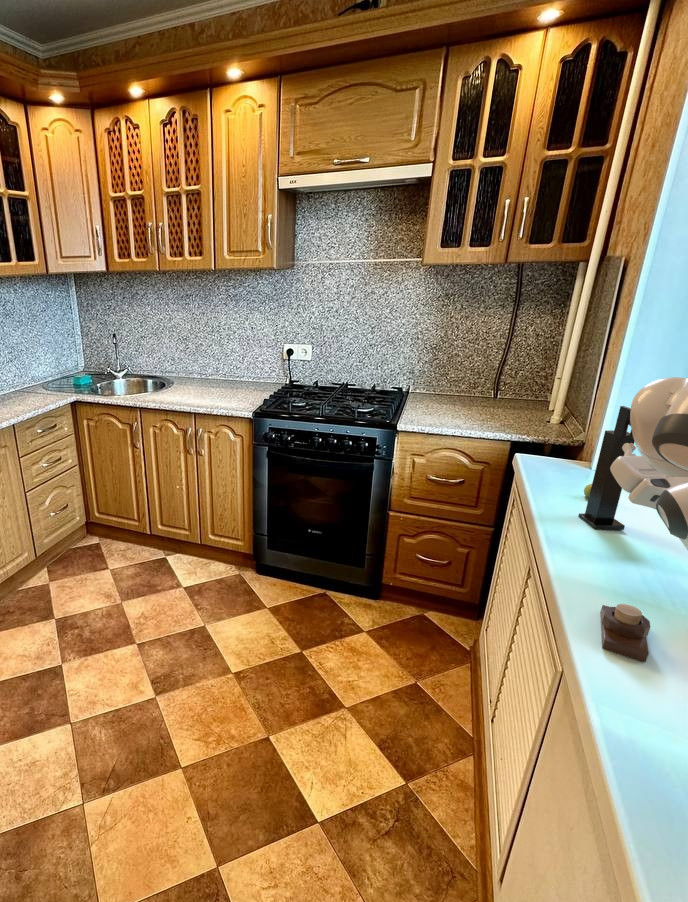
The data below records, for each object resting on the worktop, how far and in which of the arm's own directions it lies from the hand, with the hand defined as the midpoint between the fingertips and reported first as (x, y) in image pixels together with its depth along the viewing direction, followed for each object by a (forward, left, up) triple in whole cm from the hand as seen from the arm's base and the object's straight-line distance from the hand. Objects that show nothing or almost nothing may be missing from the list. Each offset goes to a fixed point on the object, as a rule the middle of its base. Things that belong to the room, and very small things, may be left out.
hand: (648, 444), depth 119 cm
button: (+10, +43, -20) cm, 48 cm away
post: (+3, -8, -24) cm, 26 cm away
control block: (+10, +43, -24) cm, 50 cm away
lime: (+1, -24, -24) cm, 34 cm away
